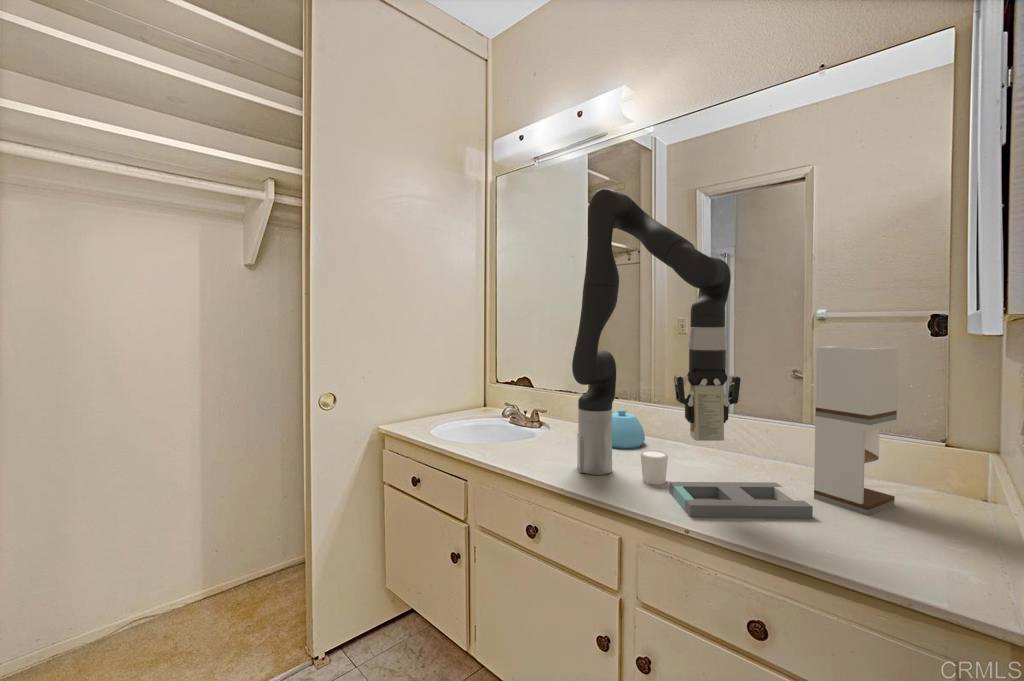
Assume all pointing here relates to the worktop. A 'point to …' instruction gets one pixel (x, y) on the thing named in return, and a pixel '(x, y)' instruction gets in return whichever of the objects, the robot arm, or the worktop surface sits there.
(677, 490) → the slot holder
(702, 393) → the skincare box
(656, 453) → the white tapered cup
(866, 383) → the coffee maker
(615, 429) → the sugar bowl
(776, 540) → the worktop surface
